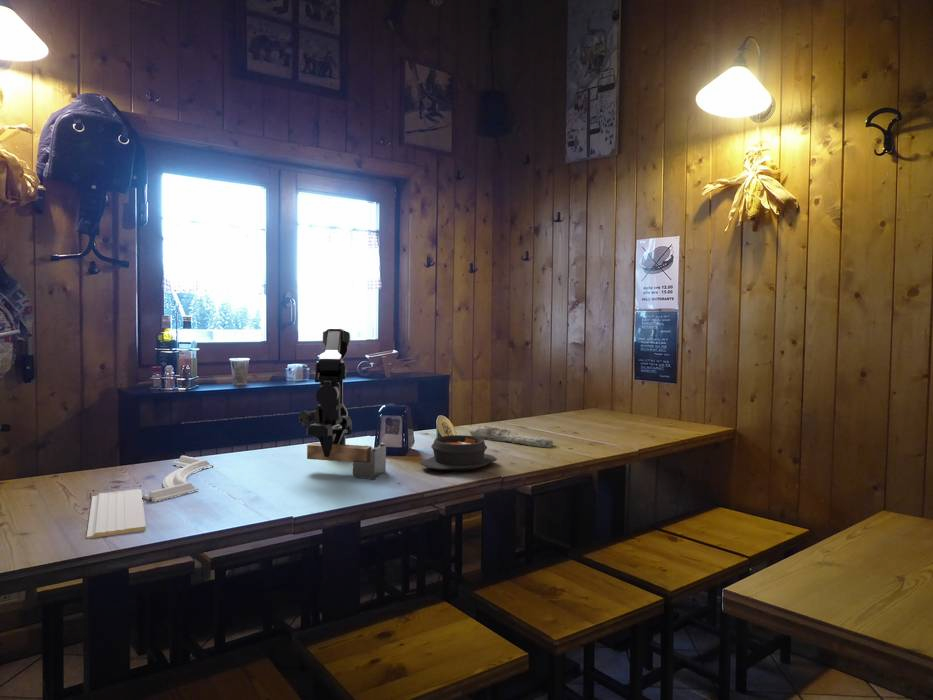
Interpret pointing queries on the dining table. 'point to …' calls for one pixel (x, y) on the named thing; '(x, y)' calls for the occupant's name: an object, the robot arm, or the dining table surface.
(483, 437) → the long grey stone
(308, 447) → the brown wooden bar
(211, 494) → the dining table surface
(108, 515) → the baseboard molding
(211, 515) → the dining table surface
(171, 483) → the molding
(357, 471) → the bracket
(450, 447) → the casserole
